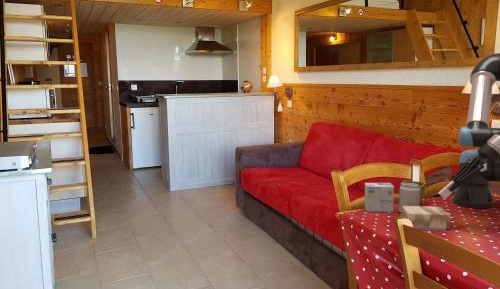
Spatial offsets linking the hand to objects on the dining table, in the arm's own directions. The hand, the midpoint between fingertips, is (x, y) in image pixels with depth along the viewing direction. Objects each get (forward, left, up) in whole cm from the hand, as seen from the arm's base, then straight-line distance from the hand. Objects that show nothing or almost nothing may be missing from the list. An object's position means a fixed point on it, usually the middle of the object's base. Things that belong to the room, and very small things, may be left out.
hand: (441, 195), depth 145 cm
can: (+8, -13, -11) cm, 19 cm away
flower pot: (+3, -28, -11) cm, 30 cm away
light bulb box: (+19, -17, -11) cm, 28 cm away
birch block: (-2, 0, -8) cm, 8 cm away
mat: (+6, 0, -11) cm, 12 cm away
